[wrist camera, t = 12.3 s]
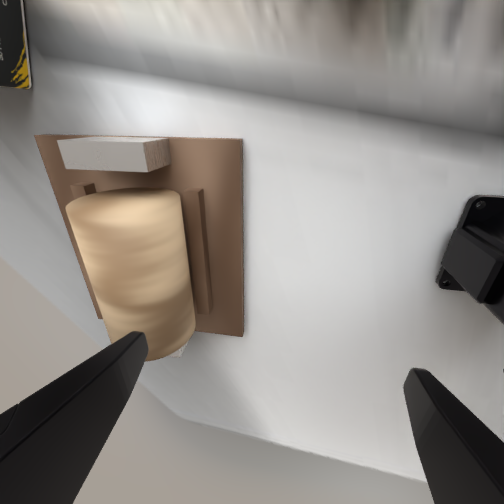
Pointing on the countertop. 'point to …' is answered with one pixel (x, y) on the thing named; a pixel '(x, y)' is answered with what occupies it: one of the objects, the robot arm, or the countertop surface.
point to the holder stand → (192, 204)
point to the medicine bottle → (13, 46)
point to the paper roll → (137, 264)
